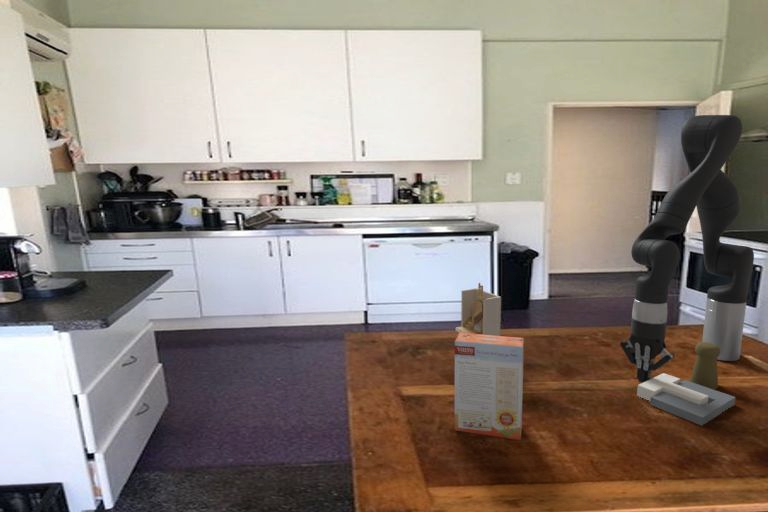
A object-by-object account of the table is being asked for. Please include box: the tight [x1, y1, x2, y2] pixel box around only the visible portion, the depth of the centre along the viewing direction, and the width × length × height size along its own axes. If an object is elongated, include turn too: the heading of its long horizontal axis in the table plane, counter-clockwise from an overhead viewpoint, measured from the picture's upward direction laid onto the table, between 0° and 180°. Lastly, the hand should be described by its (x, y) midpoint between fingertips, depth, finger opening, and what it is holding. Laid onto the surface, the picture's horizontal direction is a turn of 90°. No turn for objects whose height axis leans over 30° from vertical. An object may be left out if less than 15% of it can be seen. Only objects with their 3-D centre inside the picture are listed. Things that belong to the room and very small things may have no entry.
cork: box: [689, 341, 720, 390], centre depth 116 cm, size 6×6×11 cm
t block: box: [636, 372, 708, 407], centre depth 109 cm, size 12×12×3 cm
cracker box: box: [454, 332, 525, 441], centre depth 97 cm, size 14×6×21 cm, turn 71°
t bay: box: [649, 379, 736, 427], centre depth 106 cm, size 11×16×2 cm
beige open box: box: [455, 282, 502, 336], centre depth 130 cm, size 8×12×26 cm
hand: (643, 382), depth 116 cm, fingers closed
